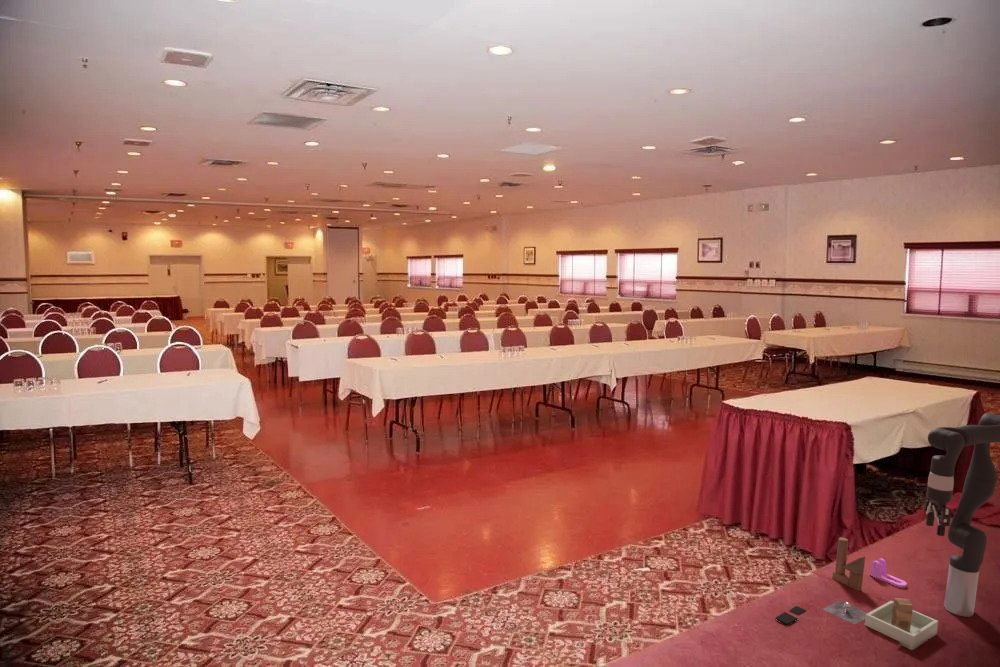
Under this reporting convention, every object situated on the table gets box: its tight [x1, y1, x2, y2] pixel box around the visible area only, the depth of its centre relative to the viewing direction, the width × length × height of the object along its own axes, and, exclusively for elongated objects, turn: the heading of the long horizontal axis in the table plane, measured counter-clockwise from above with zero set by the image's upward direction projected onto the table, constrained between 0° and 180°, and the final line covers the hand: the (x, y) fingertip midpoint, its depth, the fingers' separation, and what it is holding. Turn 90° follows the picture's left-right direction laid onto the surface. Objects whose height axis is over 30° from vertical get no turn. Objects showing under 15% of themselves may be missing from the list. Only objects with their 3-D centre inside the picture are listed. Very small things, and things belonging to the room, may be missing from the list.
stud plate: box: [822, 600, 868, 625], centre depth 250 cm, size 12×12×5 cm
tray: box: [864, 600, 939, 651], centre depth 240 cm, size 18×16×5 cm
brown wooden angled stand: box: [831, 536, 866, 592], centre depth 271 cm, size 4×11×18 cm, turn 26°
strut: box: [891, 597, 914, 632], centre depth 240 cm, size 4×4×10 cm
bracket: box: [869, 558, 908, 588], centre depth 277 cm, size 13×6×7 cm, turn 33°
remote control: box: [775, 605, 807, 626], centre depth 247 cm, size 5×2×15 cm
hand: (934, 530), depth 239 cm, fingers open, 8 cm apart
